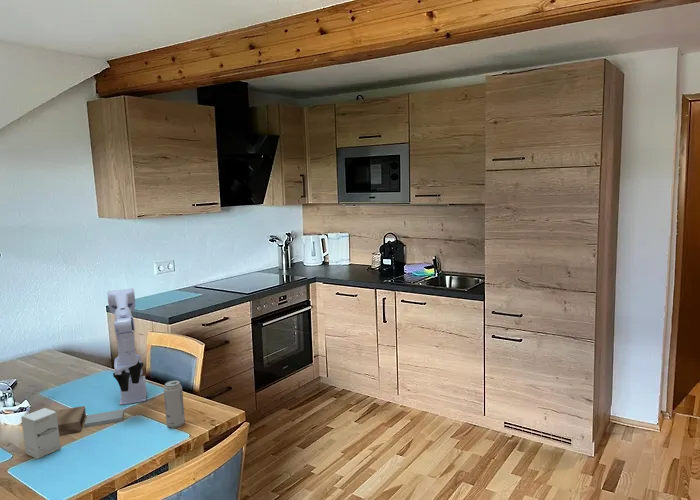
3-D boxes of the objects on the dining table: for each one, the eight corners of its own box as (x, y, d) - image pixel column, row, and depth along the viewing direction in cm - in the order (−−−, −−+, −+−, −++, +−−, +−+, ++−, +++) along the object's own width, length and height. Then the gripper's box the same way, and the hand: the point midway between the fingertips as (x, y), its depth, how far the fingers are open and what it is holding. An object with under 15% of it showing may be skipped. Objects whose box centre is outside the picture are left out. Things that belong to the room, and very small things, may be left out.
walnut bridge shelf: (85, 415, 188) (84, 405, 188) (80, 431, 175) (78, 421, 175) (61, 419, 185) (60, 409, 185) (53, 436, 173) (52, 426, 172)
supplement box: (37, 459, 158) (32, 420, 156) (25, 454, 162) (20, 416, 160) (61, 449, 164) (57, 411, 162) (49, 443, 168) (44, 406, 166)
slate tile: (123, 413, 190) (123, 409, 189) (122, 422, 183) (121, 417, 182) (87, 419, 186) (87, 415, 185) (84, 428, 179) (84, 423, 178)
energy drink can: (166, 422, 179) (162, 381, 178) (184, 419, 182) (180, 378, 180) (167, 430, 174) (163, 387, 172) (185, 426, 176) (182, 384, 174)
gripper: (126, 345, 192) (130, 380, 194) (104, 357, 178) (108, 395, 179) (144, 344, 191) (148, 379, 193) (124, 356, 177) (128, 394, 179)
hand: (130, 387), depth 186 cm, fingers open, 7 cm apart
